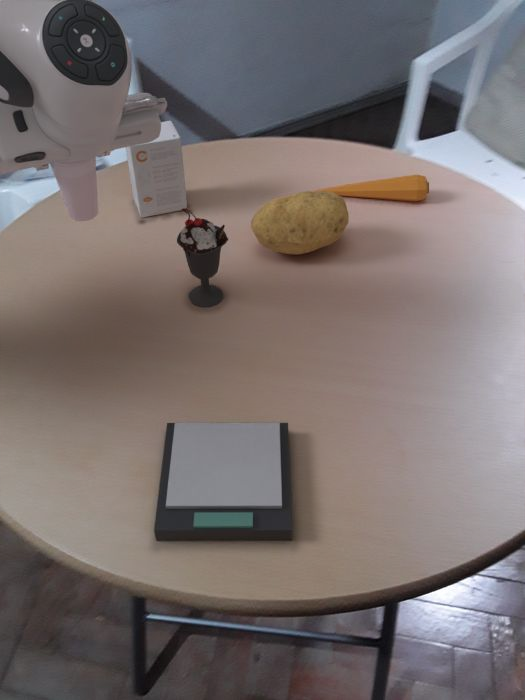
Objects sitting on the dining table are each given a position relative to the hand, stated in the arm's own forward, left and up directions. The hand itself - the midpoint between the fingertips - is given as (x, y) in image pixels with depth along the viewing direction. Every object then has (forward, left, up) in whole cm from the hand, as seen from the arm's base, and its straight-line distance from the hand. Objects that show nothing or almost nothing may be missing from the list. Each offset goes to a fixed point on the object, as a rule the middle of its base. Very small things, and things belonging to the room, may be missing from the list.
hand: (71, 157), depth 84 cm
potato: (+30, +10, -21) cm, 38 cm away
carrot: (+42, +25, -21) cm, 53 cm away
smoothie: (0, -1, -8) cm, 8 cm away
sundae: (+16, -2, -21) cm, 26 cm away
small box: (+7, +22, -21) cm, 31 cm away
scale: (+20, -34, -21) cm, 44 cm away
